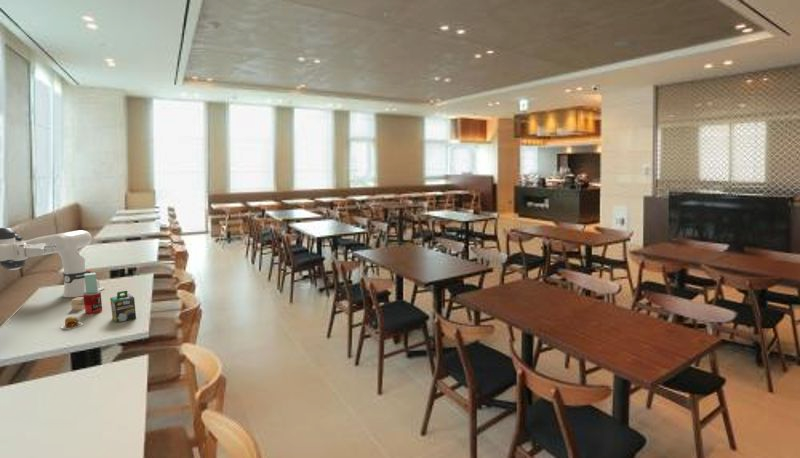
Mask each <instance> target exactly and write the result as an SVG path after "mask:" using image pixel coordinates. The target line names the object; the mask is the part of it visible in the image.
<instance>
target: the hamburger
mask: <svg viewBox="0 0 800 458" xmlns="http://www.w3.org/2000/svg"><path fill="white" fill-rule="evenodd" d="M83 324H84V323H83V322H80V321H79V319H78V318H77V317H76V316H68V317H67V318H65V320H64V324H62V325H61V326H60V329H64V330H70V329H71V330H72V329H75V328H79V327H81V326H83ZM78 325H79V326H78Z"/></svg>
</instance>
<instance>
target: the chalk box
mask: <svg viewBox="0 0 800 458" xmlns="http://www.w3.org/2000/svg"><path fill="white" fill-rule="evenodd" d="M122 294H123V295H122ZM109 301H110V307H111V315H112V316H111V317H112V319H113V320H114V321H115V322H116V323H121V322H126V321H130V320H136V319H137V315H136V314H137V313H136V311H137V310H136V304H135V303H136V301H135V297H134V296H133V295H131V294H130V293H128V291H127V290H124V291H123V290H122V291H118V292H116V296H112V297H110V299H109ZM135 318H136V319H135Z"/></svg>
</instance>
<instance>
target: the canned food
mask: <svg viewBox="0 0 800 458" xmlns="http://www.w3.org/2000/svg"><path fill="white" fill-rule="evenodd" d="M97 291H98V292H97V293H90V294H86V292H84V293H83V295H84V296H83V297H84V305H85V309H84V311H85V314H88V315H93V314H94V315H95V314H98V313H101V312H102V311H103V303H102V294H101V293H102V292H101V291H99V290H97Z"/></svg>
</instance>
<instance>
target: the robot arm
mask: <svg viewBox="0 0 800 458" xmlns="http://www.w3.org/2000/svg"><path fill="white" fill-rule="evenodd" d="M92 241H93V237H92V234H91V233H90V232H89V231H87V230H83V229H82V230H81V229H79V230H78V229H77V230H72V231H67V232H66V231H65V232H61V233H56V234H49V235H43V236H38V237H35V238H31V239H27V240H24V237H22V236H21V235H20V234H18V233H16V231H15V230H13V229H12V228H10V227H0V266H2V268H4V269H6V270H9V271H11V270H12V271H16V270H19V269H22V268H23V267H24V266H26V260H28V258H34V257H40V256H45V255H50V254H58V255H59V256H60V259H61V261H62V268H63V274H62V275H63V281H64V283H63V284H64V286H63V294H62V297H63V298H76V297H84V295H83V293H84V292H86V286H85V276H84V274H86V273H93V270H92V269H91V270H89V269H88V270H87V267H86V266H87V265H86V258H85V257H84V256H82V255H81V254H80V252H79V249H82V248H85V247H86V246H87V247H88V246H89V245H90V244H91V243H92ZM96 281H97V290H99V291H100V292H101V291H103V290H105V289H106V288H105V287H104V286H101V285H100V284H101V283H100V281H99V280H98V279H97V278H96Z"/></svg>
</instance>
